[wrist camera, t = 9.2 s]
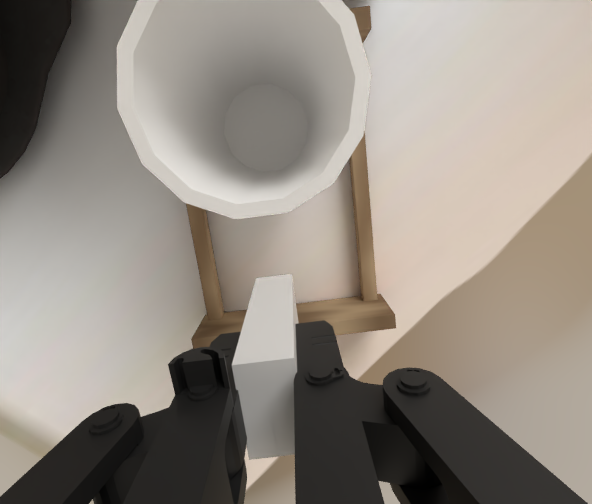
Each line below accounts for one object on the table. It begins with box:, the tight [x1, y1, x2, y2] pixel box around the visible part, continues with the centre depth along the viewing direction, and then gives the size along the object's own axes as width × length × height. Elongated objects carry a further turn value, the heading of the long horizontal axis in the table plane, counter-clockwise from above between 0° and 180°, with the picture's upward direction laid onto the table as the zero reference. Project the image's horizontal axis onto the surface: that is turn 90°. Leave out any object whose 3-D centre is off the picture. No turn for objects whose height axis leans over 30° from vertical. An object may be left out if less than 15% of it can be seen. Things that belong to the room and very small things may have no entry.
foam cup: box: [117, 0, 372, 219], centre depth 20 cm, size 10×9×13 cm
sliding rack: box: [186, 6, 396, 349], centre depth 25 cm, size 14×20×4 cm
